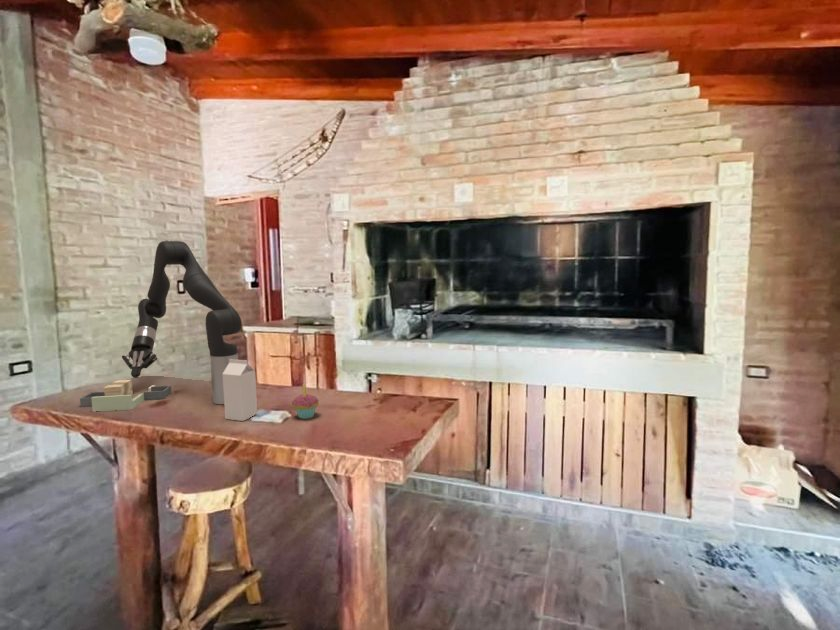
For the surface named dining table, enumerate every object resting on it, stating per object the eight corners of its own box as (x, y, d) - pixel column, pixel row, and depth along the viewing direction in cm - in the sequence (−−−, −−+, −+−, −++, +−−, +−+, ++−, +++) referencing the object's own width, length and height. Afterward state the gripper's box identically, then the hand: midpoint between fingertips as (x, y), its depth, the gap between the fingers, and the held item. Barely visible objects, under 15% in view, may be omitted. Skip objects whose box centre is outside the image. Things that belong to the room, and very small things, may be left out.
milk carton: (243, 421, 158) (239, 362, 156) (225, 419, 161) (221, 361, 158) (257, 414, 165) (254, 358, 162) (240, 412, 167) (236, 357, 165)
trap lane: (101, 394, 192) (100, 381, 191) (174, 390, 196) (174, 378, 195) (70, 413, 169) (68, 398, 168) (153, 408, 173) (152, 394, 172)
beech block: (118, 401, 182) (116, 380, 181) (133, 400, 183) (131, 379, 182) (106, 410, 172) (104, 387, 171) (121, 409, 173) (119, 386, 172)
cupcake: (318, 419, 159) (317, 383, 157) (291, 421, 158) (289, 384, 156) (319, 411, 167) (318, 376, 166) (293, 413, 166) (291, 377, 164)
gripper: (123, 335, 197) (112, 372, 187) (158, 333, 199) (150, 370, 189) (129, 346, 203) (119, 382, 192) (164, 344, 205) (156, 380, 195)
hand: (134, 376), depth 191 cm, fingers closed
